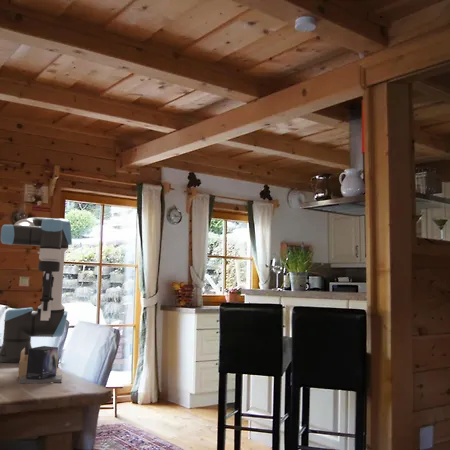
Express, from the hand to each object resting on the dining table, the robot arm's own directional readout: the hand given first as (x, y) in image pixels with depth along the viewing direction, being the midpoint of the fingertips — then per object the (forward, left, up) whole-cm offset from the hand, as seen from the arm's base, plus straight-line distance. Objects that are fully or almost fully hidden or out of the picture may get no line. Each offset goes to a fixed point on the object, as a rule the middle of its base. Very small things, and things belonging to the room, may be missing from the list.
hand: (45, 319), depth 199 cm
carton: (-16, -2, -22) cm, 27 cm away
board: (0, 0, -22) cm, 22 cm away
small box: (+1, 0, -21) cm, 21 cm away
